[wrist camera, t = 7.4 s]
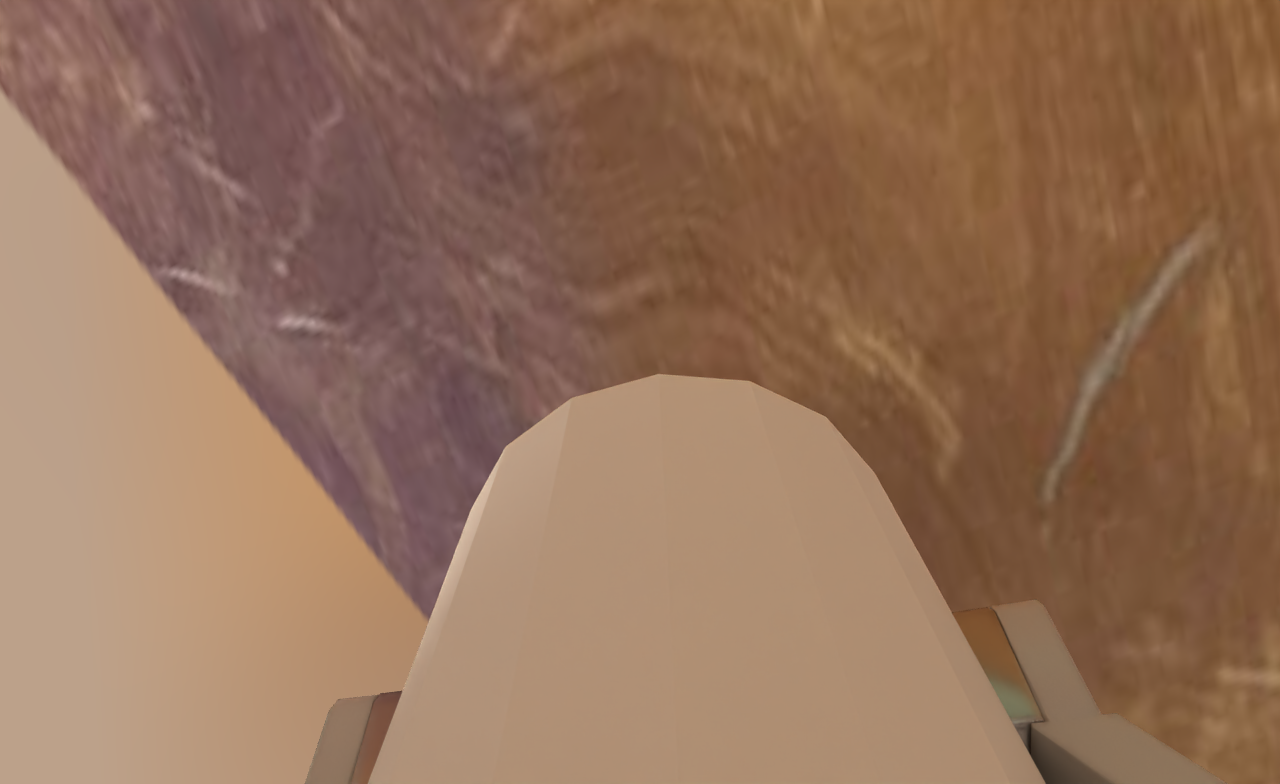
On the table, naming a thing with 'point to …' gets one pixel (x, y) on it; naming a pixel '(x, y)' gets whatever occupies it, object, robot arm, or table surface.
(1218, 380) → the table surface
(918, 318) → the table surface
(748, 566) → the white cup
